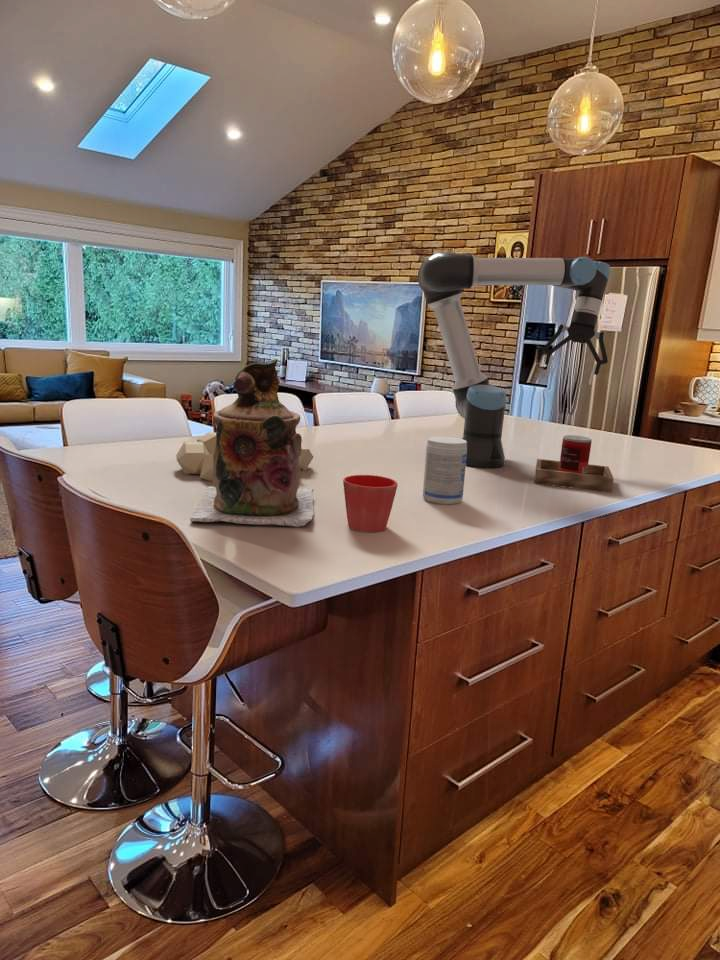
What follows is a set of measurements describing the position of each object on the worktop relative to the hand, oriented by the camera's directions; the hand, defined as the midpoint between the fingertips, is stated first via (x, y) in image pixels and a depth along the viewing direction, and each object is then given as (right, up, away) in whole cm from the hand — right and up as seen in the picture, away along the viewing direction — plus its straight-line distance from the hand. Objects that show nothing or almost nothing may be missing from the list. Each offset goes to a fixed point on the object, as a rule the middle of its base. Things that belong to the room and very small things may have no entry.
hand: (567, 380), depth 206 cm
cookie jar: (-89, -39, -68) cm, 118 cm away
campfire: (-97, -30, -33) cm, 107 cm away
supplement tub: (-47, -37, -52) cm, 79 cm away
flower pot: (-65, -42, -75) cm, 108 cm away
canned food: (-7, -31, -24) cm, 40 cm away
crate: (-7, -32, -24) cm, 41 cm away
